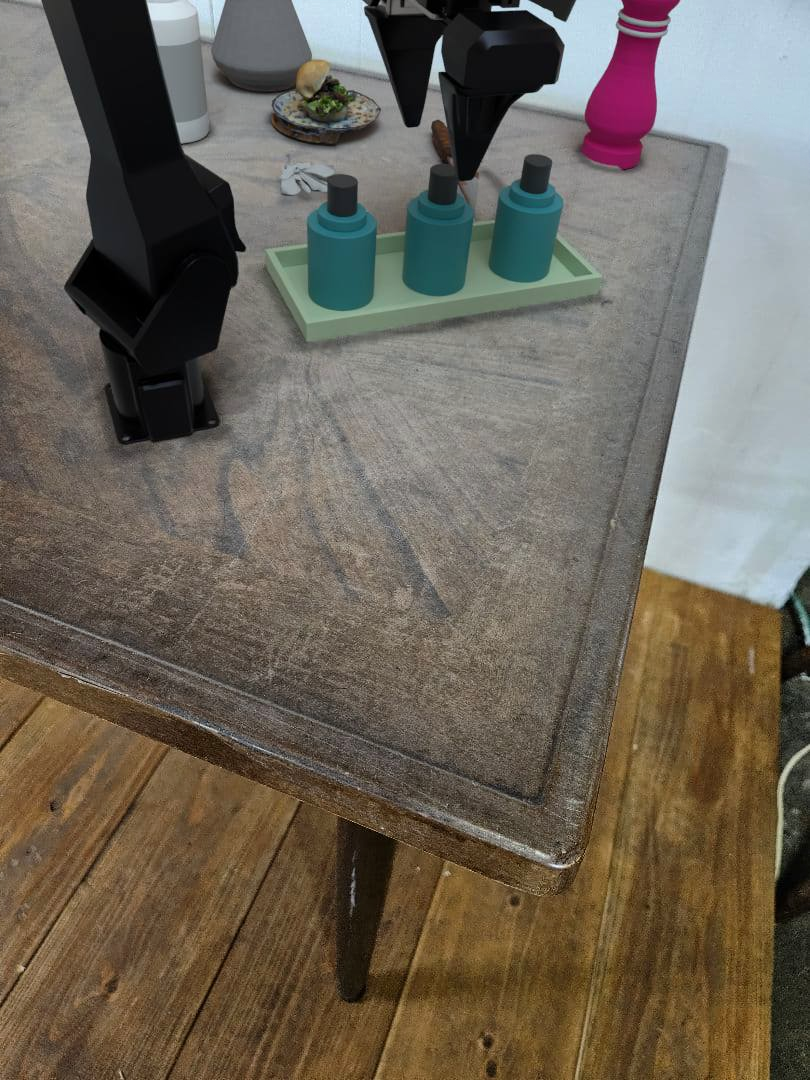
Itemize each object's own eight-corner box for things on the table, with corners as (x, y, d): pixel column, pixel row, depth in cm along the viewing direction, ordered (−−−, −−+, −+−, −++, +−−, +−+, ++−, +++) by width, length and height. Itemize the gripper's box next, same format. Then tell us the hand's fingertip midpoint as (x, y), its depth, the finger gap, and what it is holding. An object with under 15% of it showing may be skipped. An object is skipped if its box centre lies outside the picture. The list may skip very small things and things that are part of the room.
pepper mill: (562, 151, 89) (608, -76, 74) (608, 139, 92) (661, -81, 77) (610, 177, 85) (669, -56, 70) (656, 163, 88) (722, -62, 74)
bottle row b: (300, 281, 66) (296, 168, 60) (360, 272, 68) (364, 162, 61) (320, 315, 63) (319, 200, 57) (383, 305, 65) (389, 192, 58)
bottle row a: (478, 255, 71) (493, 149, 65) (531, 248, 73) (551, 143, 66) (505, 286, 68) (524, 177, 61) (559, 278, 70) (584, 170, 63)
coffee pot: (310, 64, 102) (308, -85, 91) (314, 100, 94) (312, -60, 83) (132, 58, 99) (107, -97, 88) (120, 94, 91) (92, -72, 80)
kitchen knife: (525, 220, 76) (474, 215, 75) (519, 237, 77) (469, 232, 76) (474, 121, 89) (430, 115, 88) (470, 136, 90) (426, 131, 89)
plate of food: (346, 155, 84) (347, 75, 79) (249, 127, 87) (244, 49, 82) (399, 119, 92) (404, 43, 86) (308, 94, 95) (307, 20, 89)
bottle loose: (392, 268, 69) (399, 158, 62) (449, 260, 70) (461, 152, 64) (416, 300, 66) (426, 188, 59) (475, 291, 67) (491, 181, 61)
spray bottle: (179, 151, 82) (151, -69, 69) (128, 132, 84) (91, -84, 71) (223, 130, 86) (205, -81, 73) (173, 113, 89) (147, -95, 75)
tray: (266, 271, 68) (264, 248, 66) (534, 234, 75) (538, 213, 74) (306, 346, 61) (306, 323, 60) (597, 298, 69) (603, 276, 67)
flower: (369, 197, 81) (374, 170, 78) (319, 226, 76) (323, 199, 74) (308, 161, 82) (312, 135, 80) (256, 188, 77) (258, 160, 75)
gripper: (677, -92, 43) (603, 199, 55) (514, -156, 55) (481, 96, 66) (489, -94, 40) (452, 217, 51) (357, -161, 51) (351, 105, 63)
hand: (437, 152), depth 58 cm, fingers open, 9 cm apart
